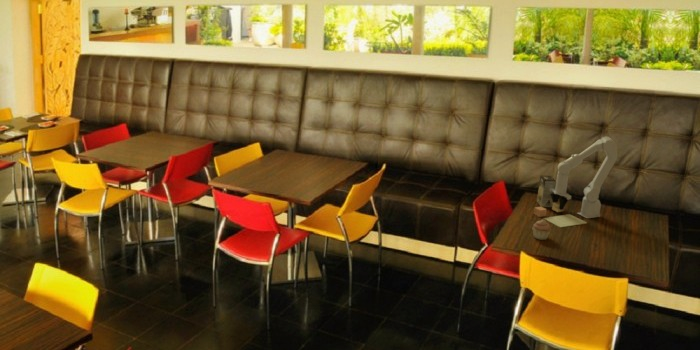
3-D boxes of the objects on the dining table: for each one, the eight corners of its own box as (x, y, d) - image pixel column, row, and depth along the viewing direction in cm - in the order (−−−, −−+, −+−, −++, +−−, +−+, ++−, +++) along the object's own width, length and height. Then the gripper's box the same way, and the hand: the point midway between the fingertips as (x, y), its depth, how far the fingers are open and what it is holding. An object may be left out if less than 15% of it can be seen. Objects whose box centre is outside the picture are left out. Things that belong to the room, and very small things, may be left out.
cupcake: (533, 232, 301) (535, 213, 298) (552, 236, 296) (554, 217, 293) (528, 238, 293) (530, 219, 290) (547, 243, 289) (550, 223, 286)
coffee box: (536, 201, 346) (539, 175, 341) (547, 201, 346) (551, 175, 341) (540, 207, 337) (544, 179, 332) (552, 207, 337) (556, 180, 332)
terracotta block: (540, 213, 328) (541, 206, 326) (545, 216, 324) (546, 209, 322) (533, 214, 326) (534, 207, 325) (539, 217, 322) (540, 210, 321)
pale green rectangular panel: (569, 214, 326) (569, 214, 326) (587, 223, 315) (587, 222, 315) (543, 218, 319) (543, 217, 319) (560, 227, 308) (560, 226, 308)
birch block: (558, 208, 332) (559, 201, 330) (563, 211, 328) (564, 204, 326) (551, 209, 330) (552, 202, 329) (557, 212, 326) (558, 205, 325)
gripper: (546, 181, 329) (543, 204, 333) (565, 189, 316) (561, 213, 320) (556, 179, 332) (553, 202, 336) (575, 187, 319) (572, 211, 323)
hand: (558, 207), depth 328 cm, fingers closed on birch block, 4 cm apart
